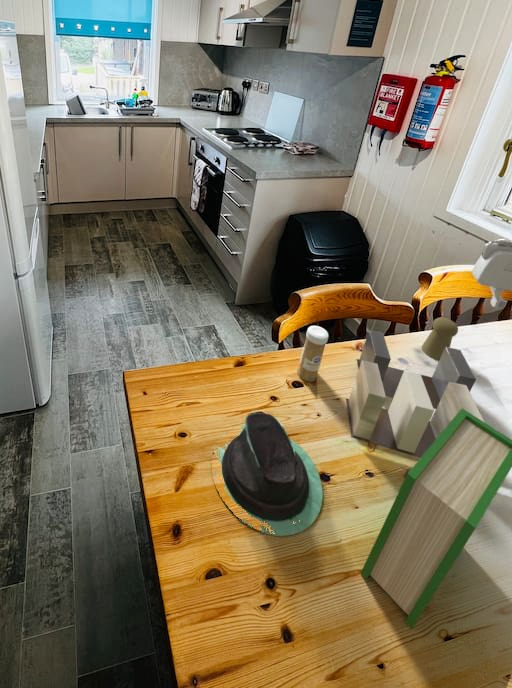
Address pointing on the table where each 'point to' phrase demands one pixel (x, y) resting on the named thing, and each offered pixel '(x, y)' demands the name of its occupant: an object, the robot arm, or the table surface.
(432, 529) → the hardback book
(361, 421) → the light brown wooden rack
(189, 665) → the table surface
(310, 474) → the black and teal hat
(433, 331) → the cork
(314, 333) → the sprinkles bottle
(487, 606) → the table surface
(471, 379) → the grey rack
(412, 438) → the upright white block
